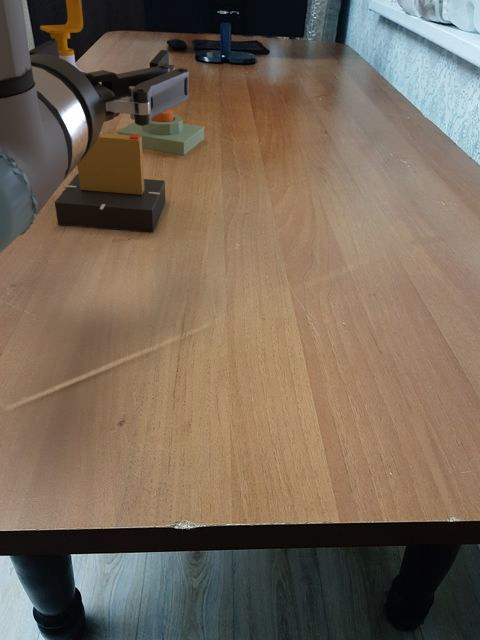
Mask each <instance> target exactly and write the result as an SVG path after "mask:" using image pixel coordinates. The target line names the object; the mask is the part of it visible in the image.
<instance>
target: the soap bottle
mask: <svg viewBox="0 0 480 640" xmlns="http://www.w3.org/2000/svg"><path fill="white" fill-rule="evenodd" d="M65 4H66V13H67V21H66V23H65V24H52V25H51V24H49V25H48V24H47V25H46V24H45V25H40V26H39V29H40V31H43V32H46V33H49V34H50V38H51V39H54V41H57V44H58V52H59V58H61V59H63V60H65V61H67V62H69V63H71V64H72V65H74V66H75V67H76V68H77V69H79V70H80V71H82V72H84V71H83V70H82V69H80V68H79V67H77V65H76V59H75V58H76V57H75V50H74V49H73V48H69V47H68V40H69V39H71V34H73V33H75V34H76V33H80V32H81V31H82V30H83V29H84V16H83V7H82V6H83V5H82V0H65ZM100 133H102V131H101V132H100Z"/></svg>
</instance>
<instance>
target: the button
mask: <svg viewBox="0 0 480 640" xmlns="http://www.w3.org/2000/svg"><path fill="white" fill-rule="evenodd" d="M152 121H155V122H171V121H174V109H173V108H171V109H169V110H167V111H165V112H163V113H161V114H159V115H157V116H155V117H153V118H152Z"/></svg>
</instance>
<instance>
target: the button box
mask: <svg viewBox="0 0 480 640" xmlns="http://www.w3.org/2000/svg"><path fill="white" fill-rule="evenodd" d="M173 114H174V113H173ZM117 134H118V135H130V136H131V134H139V135H140V136H141V137H142V150H150V151H155V152H161V153H165V154H172V155H179V156H185V155H186V154H188V153H189V152H190V151H191V150H192V149H194V148H195V147H196V146H198V145H199V144H200V143H201V142H203V140H205V126H202V125H195V124H189V123H184V121H183V118H182V116H180V115H177V114H176V113H175V114H174V121H171V122H155V121H152V120H151V122H150V124H148V125H144V126H141V125H137V124H135V121H133V122H131V123H129V124H128V125H126V126H125V127H123V128H121V129H119V130H118V131H117Z"/></svg>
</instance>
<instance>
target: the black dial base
mask: <svg viewBox="0 0 480 640" xmlns="http://www.w3.org/2000/svg"><path fill="white" fill-rule="evenodd" d="M165 203H166V181H165V180H162V179H151V178H149V179H148V178H144V192H143V194H142V195H137V194H125V193H113V192H100V191H88V190H80V183H79V175H78V173H77V174H76V175H75V176H74V177H73V178H72V180H71V181H70V182H69V184H68V185H67V184H66V185H65V189H64V190H63V191H62V193H61V194H60V195H59V196H58V198H57V199H56V200H55V201H54V206H55V213H56V220H57V225H58V226H59V225H60V226H71V227H83V228H84V227H87V228H98V229H109V230H123V231H134V232H148V233H154V230H155V228H156V225H157V224H158V221H159V218H160V216H161V213H162V211H163V208H164V205H165Z"/></svg>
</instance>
